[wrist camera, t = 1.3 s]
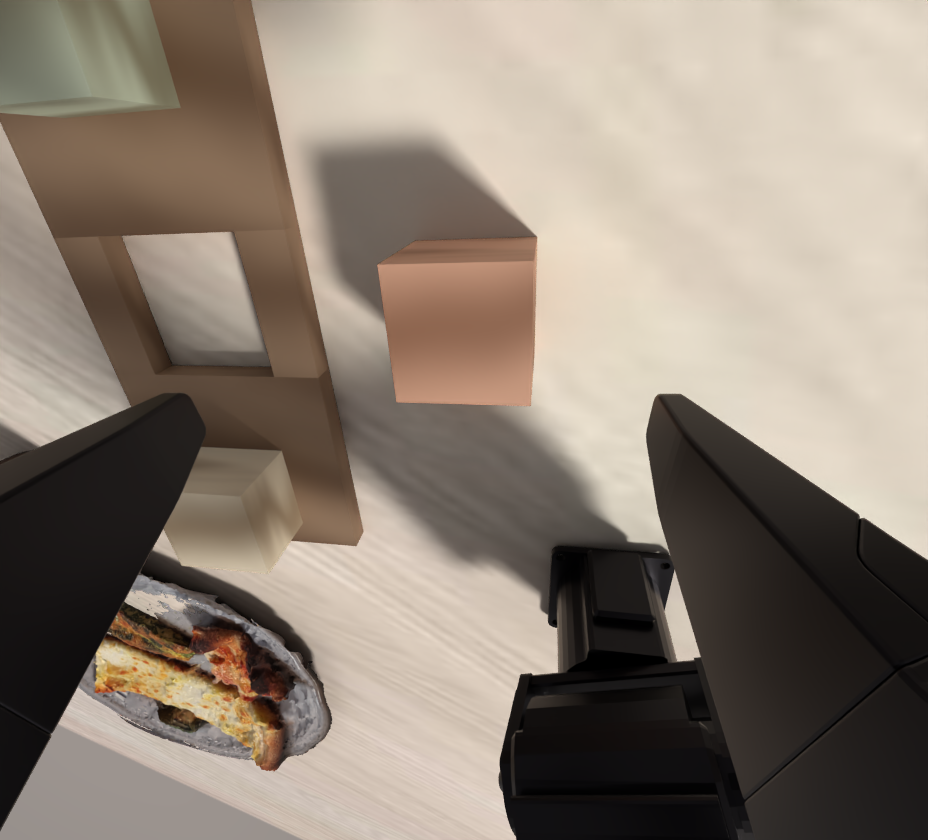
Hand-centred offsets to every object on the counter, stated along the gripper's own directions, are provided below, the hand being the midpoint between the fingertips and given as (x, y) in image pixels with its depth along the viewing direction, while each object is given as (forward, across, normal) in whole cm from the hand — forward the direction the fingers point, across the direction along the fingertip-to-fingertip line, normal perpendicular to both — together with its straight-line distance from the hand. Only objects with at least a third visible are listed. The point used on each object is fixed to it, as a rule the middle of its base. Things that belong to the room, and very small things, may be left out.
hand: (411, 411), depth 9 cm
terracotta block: (+12, 0, +3) cm, 12 cm away
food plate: (+9, +24, +33) cm, 42 cm away
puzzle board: (+12, +13, +3) cm, 18 cm away
